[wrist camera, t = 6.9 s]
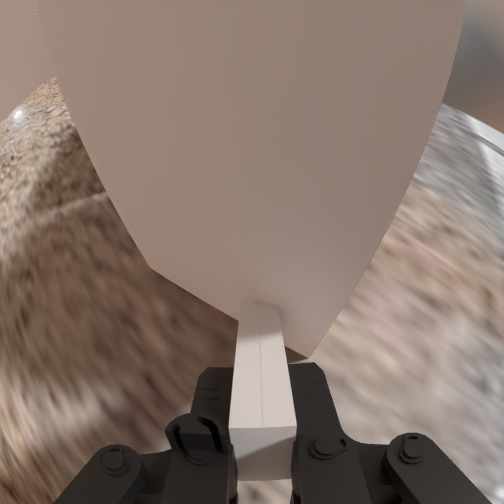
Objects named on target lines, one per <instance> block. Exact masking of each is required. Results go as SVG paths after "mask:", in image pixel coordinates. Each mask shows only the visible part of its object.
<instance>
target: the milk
mask: <svg viewBox="0 0 504 504" xmlns="http://www.w3.org/2000/svg"><path fill="white" fill-rule="evenodd" d="M34 4H35V9H36V13H37V17H38V21H39V24H40V28H41V31H42V35H43V39H44V42H45V46H46V48H47V52H48V55H49V58H50V61H51V64H52V67H53V70H54V73H55V76H56V79H57V81H58V84H59V87H60V90H61V92H62V95H63V97H64V100H65V102H66V105H67V107H68V110H69V112H70V115H71V117H72V120H73V122H74V124H75V127H76V129H77V131H78V134H79V136H80V138H81V140H82V142H83V145H84V147H85V149H86V151H87V153H88V155H89V158H90V160H91V162H92V164H93V166H94V168H95V170H96V172H97V174H98V176H99V178H100V180H101V182H102V184H103V186H104V188H105V190H106V192H107V194H108V196H109V197H110V199H111V201H112V203H113V205H114V207H115V209H116V210H117V212H118V214H119V216H120V218H121V219H122V221H123V223H124V225H125V227H126V228H127V230H128V232H129V234H130V235H131V237H132V239H133V240H134V242H135V244H136V246H137V247H138V249H139V251H140V252H141V254H142V256H143V257H144V259H145V260H146V262H147V264H148V265H149V267H150V268H151V269H153V270H154V271H156V272H157V273H159V274H160V275H162V276H164V277H165V278H167V279H168V280H170V281H172V282H173V283H175V284H176V285H178V286H180V287H181V288H183V289H185V290H186V291H188V292H189V293H191V294H193V295H194V296H196V297H198V298H199V299H201V300H203V301H204V302H206V303H208V304H210V305H211V306H213V307H215V308H216V309H218V310H220V311H222V312H223V313H225V314H227V315H229V316H230V317H232V318H234V319H236V320H237V321H239V313H240V304H241V303H268V304H271V305H274V306H278V312H279V318H280V323H281V329H282V335H283V341H284V346H286V347H288V348H289V349H291V350H293V351H295V352H297V353H299V354H301V355H303V356H305V357H307V358H309V357H310V356H311V355H312V353H313V352H314V350H315V349H316V347H317V346H318V345H319V343H320V342H321V340H322V339H323V337H324V336H325V334H326V333H327V331H328V330H329V328H330V327H331V325H332V324H333V322H334V321H335V319H336V318H337V316H338V314H339V313H340V311H341V310H342V308H343V307H344V305H345V303H346V302H347V300H348V298H349V297H350V295H351V294H352V292H353V290H354V289H355V287H356V285H357V284H358V282H359V280H360V278H361V277H362V275H363V273H364V272H365V270H366V268H367V266H368V264H369V263H370V261H371V259H372V257H373V256H374V254H375V252H376V250H377V248H378V246H379V244H380V243H381V241H382V239H383V237H384V235H385V233H386V231H387V229H388V227H389V225H390V223H391V221H392V219H393V217H394V215H395V213H396V211H397V209H398V207H399V205H400V203H401V201H402V199H403V197H404V194H405V192H406V190H407V188H408V186H409V184H410V181H411V179H412V177H413V175H414V172H415V170H416V168H417V165H418V163H419V160H420V158H421V156H422V153H423V151H424V148H425V146H426V143H427V141H428V138H429V135H430V133H431V130H432V127H433V125H434V122H435V119H436V116H437V113H438V111H439V108H440V105H441V102H442V98H443V95H444V92H445V89H446V85H447V82H448V79H449V76H450V72H451V69H452V65H453V61H454V57H455V53H456V49H457V45H458V41H459V36H460V32H461V26H462V22H463V16H464V10H465V4H466V0H34Z"/></svg>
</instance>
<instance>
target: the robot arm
mask: <svg viewBox="0 0 504 504" xmlns="http://www.w3.org/2000/svg"><path fill="white" fill-rule="evenodd" d="M165 433H166V436H167V438H168V440H169V443H170V445H171V448H172V449H169V450H167V451H164V452H159V453H151V454H142V455H138V454H137V453H136V451H134V450H133V449H131V448H130V447H128V446H124V445H120V444H118V445H109V446H106V447H103V448H101V449H100V450H99V451H98V452H96V453H95V454H94V455H93V457H92V458H91V459H90V460H89V461H88V463H87V464H86V465H85V466H84V467H83V469H82V470H81V471H80V472H79V473H78V475H77V476H76V477H75V478H74V479H73V481H72V482H71V483H70V484H69V485H68V486H67V488H66V489H65V490H64V491H63V492H62V494H61V495H60V496H59V497H58V498H57V500H56V501H55V502H54V503H53V504H238V493H237V479H238V481H257V480H280V479H291V477H292V487H293V489H292V495H291V501H290V504H492V503H491V502H490V501H489V500H488V499H487V498H486V497H485V496H484V495H483V494H482V493H481V492H480V491H479V489H478V488H477V487H476V486H475V485H474V484H473V483H472V482H471V481H470V480H469V479H468V478H467V477H466V476H465V475H464V474H463V472H462V471H461V470H460V469H459V468H458V467H457V466H456V465H455V464H454V463H453V462H452V461H451V460H450V459H449V458H448V457H447V455H446V454H445V453H444V452H443V451H442V450H441V449H440V448H439V447H438V446H437V445H436V444H435V443H434V442H433V441H432V440H431V439H430V438H428V437H427V436H426V435H423V434H419V433H405V434H402V435H399V436H397V437H396V438H395V439H393V440H392V441H391V442H390V444H389V445H380V444H365V443H360V442H357V441H355V440H353V439H351V438H350V437H349V436H347V435H346V434H345V433H344V432H343V430H342V428H341V425H340V422H339V419H338V416H337V412H336V409H335V406H334V403H333V399H332V396H331V393H330V390H329V387H328V384H327V381H326V377H325V374H324V371H323V370H322V369H321V368H320V367H319V366H318V365H317V364H316V363H315V362H312V363H300V364H287V360H286V354H285V347H284V341H283V335H282V329H281V323H280V318H279V312H278V306H274V305H271V304H268V303H241V304H240V313H239V323H238V333H237V344H236V354H235V364H234V367H231V368H214V367H207V369H206V370H205V371H204V372H203V373H202V374H201V375H200V376H199V379H198V383H197V387H196V391H195V395H194V400H193V403H192V407H191V411H190V413H187V414H184V415H182V416H179V417H177V418H175V419H174V420H173V421H171V422H170V423H169V424H168V426H167V428H166V429H165Z"/></svg>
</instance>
